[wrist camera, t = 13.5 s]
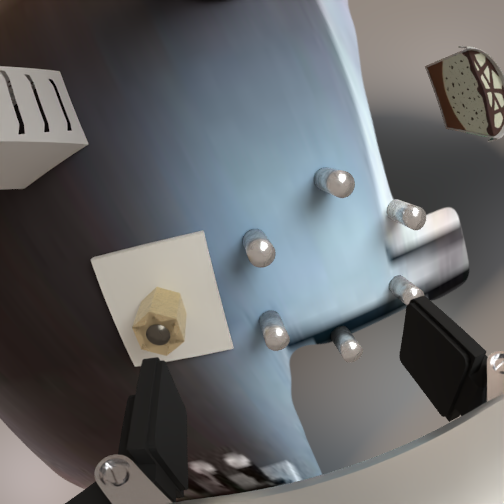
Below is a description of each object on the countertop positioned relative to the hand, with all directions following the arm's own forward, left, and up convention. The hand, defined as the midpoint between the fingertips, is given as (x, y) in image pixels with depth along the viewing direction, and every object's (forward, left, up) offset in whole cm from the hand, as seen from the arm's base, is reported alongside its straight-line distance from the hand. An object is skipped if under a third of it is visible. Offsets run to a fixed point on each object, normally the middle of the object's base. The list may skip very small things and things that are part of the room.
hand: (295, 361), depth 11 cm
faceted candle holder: (+9, -11, -25) cm, 29 cm away
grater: (-16, -21, -27) cm, 37 cm away
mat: (+9, -11, -26) cm, 30 cm away
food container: (-12, +33, -27) cm, 44 cm away
